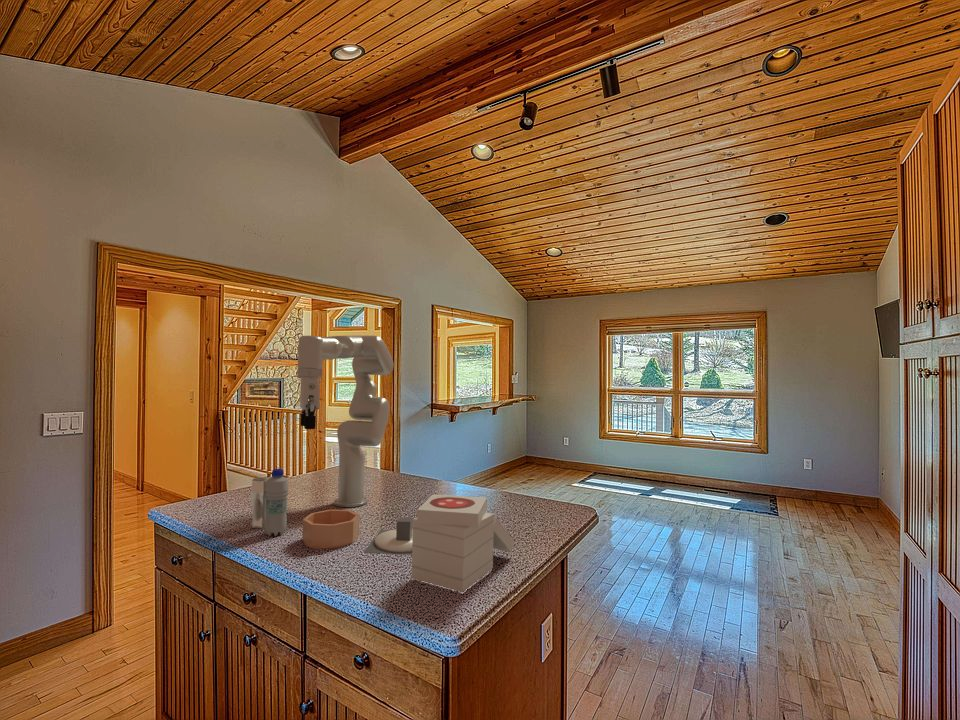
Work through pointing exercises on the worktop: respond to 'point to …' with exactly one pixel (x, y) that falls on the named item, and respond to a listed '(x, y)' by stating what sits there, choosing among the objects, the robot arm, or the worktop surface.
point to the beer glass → (258, 501)
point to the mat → (374, 549)
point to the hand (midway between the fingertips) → (307, 427)
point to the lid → (397, 537)
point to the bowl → (330, 528)
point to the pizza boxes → (455, 541)
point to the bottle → (276, 503)
